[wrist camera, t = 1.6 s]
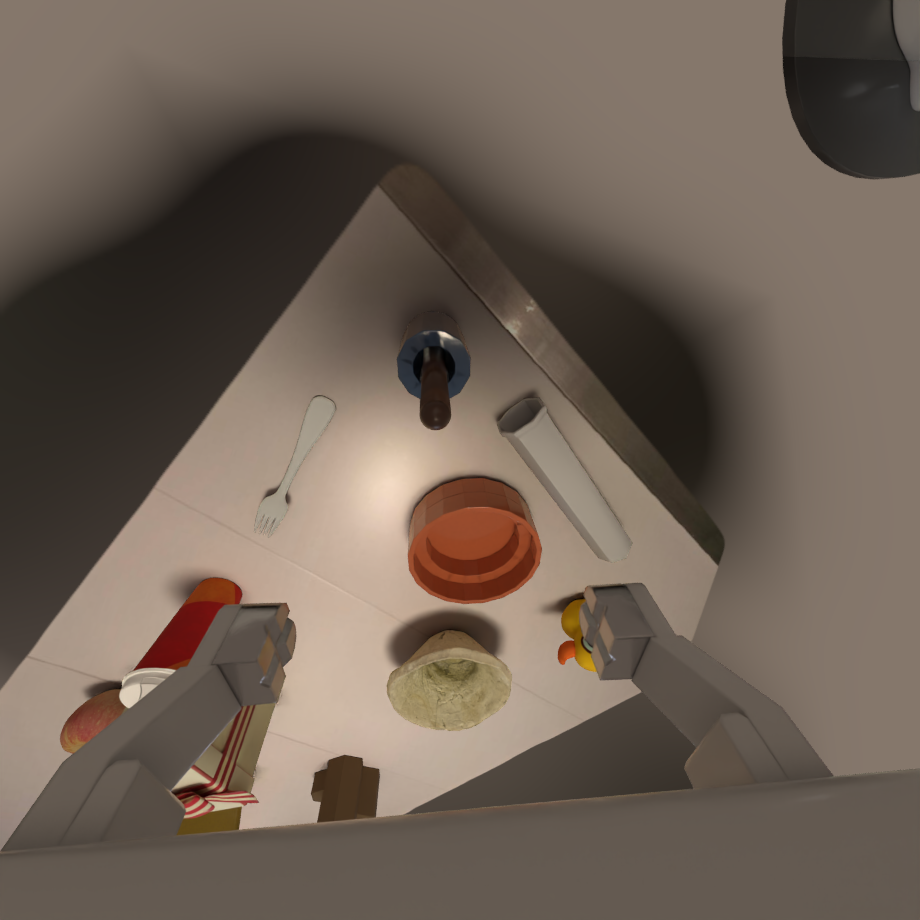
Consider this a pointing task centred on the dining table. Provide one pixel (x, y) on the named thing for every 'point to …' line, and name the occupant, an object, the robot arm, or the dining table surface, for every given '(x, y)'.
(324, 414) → the fork
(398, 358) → the crock
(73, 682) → the dining table surface
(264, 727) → the gift box
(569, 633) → the duckling
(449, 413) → the stirring stick
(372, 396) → the dining table surface
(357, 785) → the candle
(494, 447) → the dining table surface
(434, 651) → the bowl
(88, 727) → the apple
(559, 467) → the tube
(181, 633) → the paper cup
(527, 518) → the orange round shallow dish
